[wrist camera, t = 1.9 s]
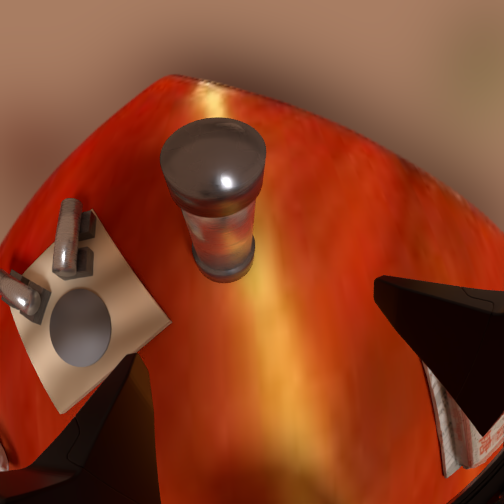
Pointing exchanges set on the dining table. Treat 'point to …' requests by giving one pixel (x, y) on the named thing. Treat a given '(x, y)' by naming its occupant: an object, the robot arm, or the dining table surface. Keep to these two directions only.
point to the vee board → (87, 321)
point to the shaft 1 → (24, 295)
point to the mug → (3, 460)
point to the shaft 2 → (73, 241)
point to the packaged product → (460, 431)
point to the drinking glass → (217, 191)
